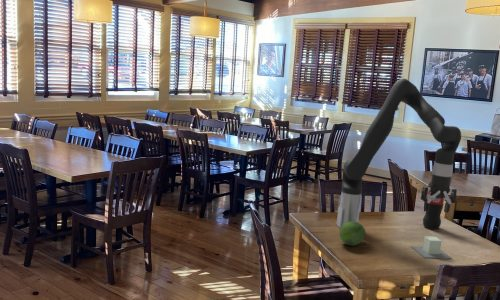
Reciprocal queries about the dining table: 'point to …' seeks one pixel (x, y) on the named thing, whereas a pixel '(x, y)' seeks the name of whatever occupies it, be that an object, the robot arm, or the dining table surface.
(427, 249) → the block
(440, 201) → the cola bottle
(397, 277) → the dining table surface
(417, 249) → the mat
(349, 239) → the fruit
